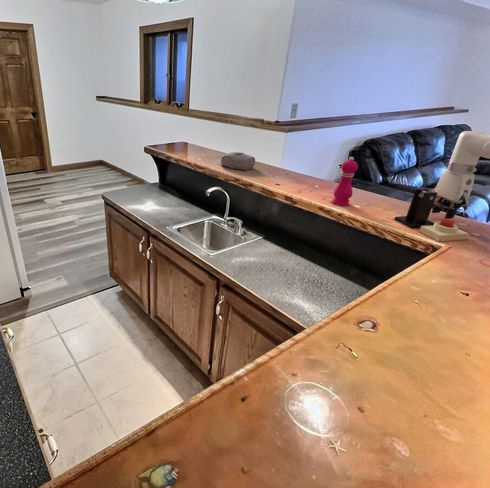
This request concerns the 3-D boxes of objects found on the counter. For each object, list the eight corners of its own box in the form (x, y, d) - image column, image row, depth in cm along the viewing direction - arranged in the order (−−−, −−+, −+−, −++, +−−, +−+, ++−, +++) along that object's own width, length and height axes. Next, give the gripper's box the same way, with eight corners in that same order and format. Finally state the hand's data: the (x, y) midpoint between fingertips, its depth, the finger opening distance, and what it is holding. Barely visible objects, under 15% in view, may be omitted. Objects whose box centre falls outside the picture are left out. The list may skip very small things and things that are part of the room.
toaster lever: (437, 209, 133) (442, 204, 132) (449, 214, 129) (454, 209, 128) (414, 194, 128) (419, 188, 128) (425, 198, 124) (430, 193, 123)
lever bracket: (417, 218, 136) (428, 186, 130) (436, 227, 128) (449, 194, 122) (394, 219, 135) (404, 187, 129) (412, 228, 127) (424, 195, 121)
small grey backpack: (257, 167, 205) (228, 161, 217) (259, 153, 201) (230, 148, 214) (243, 172, 195) (214, 165, 207) (245, 157, 191) (215, 151, 204)
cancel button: (445, 223, 122) (447, 219, 121) (455, 227, 119) (457, 223, 118) (436, 224, 121) (438, 219, 121) (445, 228, 118) (447, 223, 117)
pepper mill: (337, 199, 155) (348, 154, 146) (353, 204, 149) (365, 157, 140) (327, 202, 151) (338, 156, 142) (343, 207, 146) (355, 159, 137)
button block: (445, 230, 126) (450, 219, 124) (466, 239, 119) (470, 228, 117) (418, 231, 124) (422, 221, 123) (437, 241, 117) (442, 230, 116)
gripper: (493, 173, 116) (471, 223, 125) (449, 161, 132) (432, 207, 140) (474, 174, 115) (453, 224, 124) (431, 162, 130) (415, 208, 139)
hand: (442, 215), depth 131 cm, fingers closed on toaster lever, 5 cm apart
